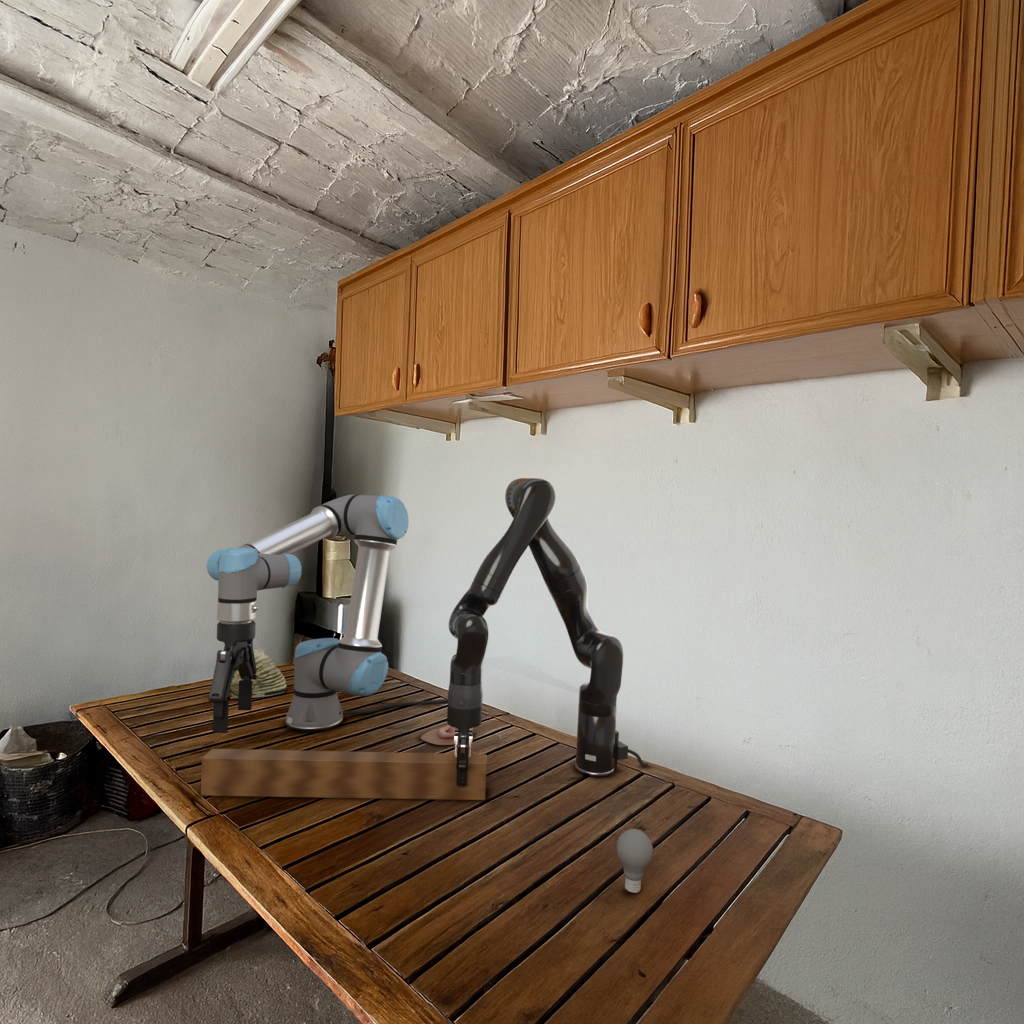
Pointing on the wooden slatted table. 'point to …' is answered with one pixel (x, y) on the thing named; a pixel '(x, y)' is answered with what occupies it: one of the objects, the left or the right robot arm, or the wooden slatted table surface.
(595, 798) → the wooden slatted table surface
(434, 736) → the anatomical model
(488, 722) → the wooden slatted table surface
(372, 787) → the beam
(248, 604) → the left robot arm
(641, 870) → the light bulb
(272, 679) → the fossil
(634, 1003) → the wooden slatted table surface
